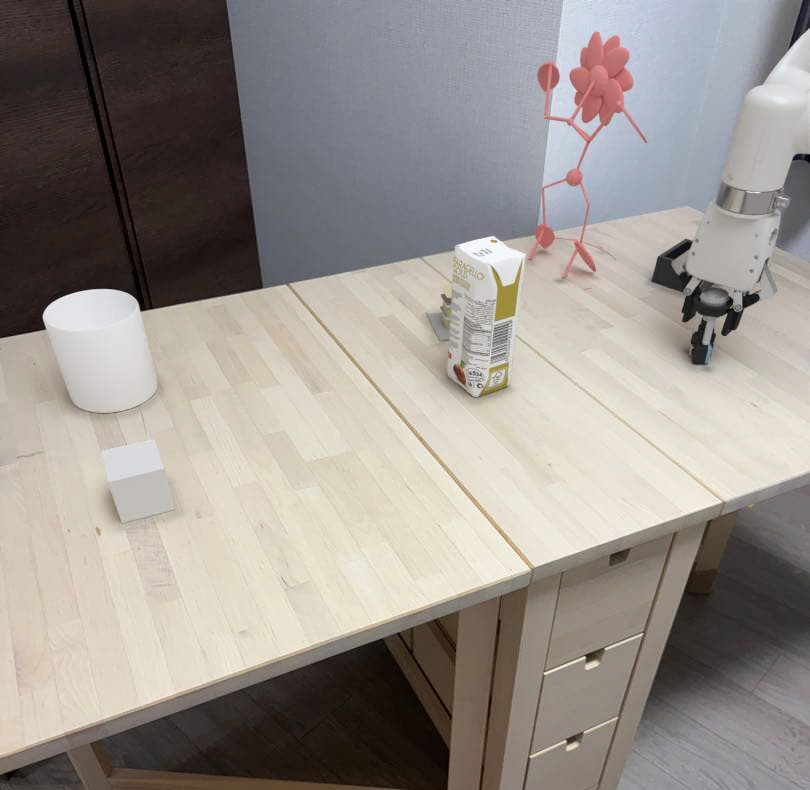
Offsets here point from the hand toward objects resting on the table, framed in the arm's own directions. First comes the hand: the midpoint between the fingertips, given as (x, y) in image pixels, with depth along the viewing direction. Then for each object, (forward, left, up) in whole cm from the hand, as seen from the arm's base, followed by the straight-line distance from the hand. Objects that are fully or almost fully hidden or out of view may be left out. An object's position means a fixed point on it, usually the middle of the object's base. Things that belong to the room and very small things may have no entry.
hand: (707, 324), depth 109 cm
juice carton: (+20, +28, -5) cm, 35 cm away
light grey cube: (+33, +75, -5) cm, 82 cm away
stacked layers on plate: (+32, +16, -5) cm, 36 cm away
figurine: (+32, -17, -5) cm, 37 cm away
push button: (0, 0, -5) cm, 5 cm away
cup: (+56, +64, -5) cm, 86 cm away
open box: (+13, -24, -5) cm, 28 cm away
